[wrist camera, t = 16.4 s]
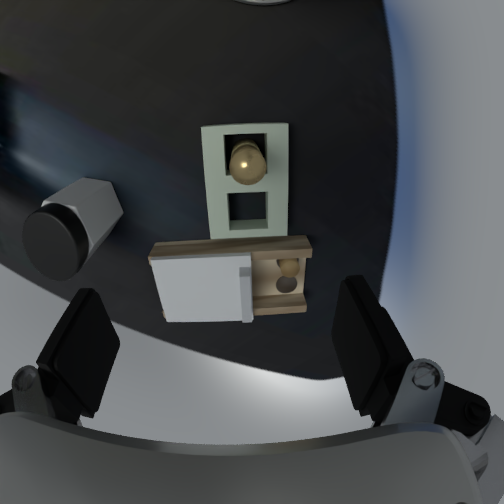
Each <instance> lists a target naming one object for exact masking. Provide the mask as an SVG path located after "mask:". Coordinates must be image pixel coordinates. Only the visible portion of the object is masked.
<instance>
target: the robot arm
mask: <svg viewBox="0 0 504 504" xmlns="http://www.w3.org/2000/svg"><path fill="white" fill-rule="evenodd" d="M235 1H238V2H242V3H246V4H252V5H276V4H280V3H285V2H288V1H291V0H235ZM331 335H332V341H333V344H334V347H335V350H336V353H337V356H338V359H339V362H340V365H341V368H342V371H343V375H344V378H345V381H346V384H347V387H348V391H349V394H350V397H351V401H352V404H353V407H354V409H355V410H359V412H360V416H361V417H362V416H366V415H370V416H371V419H372V420H373V421H374V422H373V424H372V426H371V428H368V429H363V430H358V431H353V432H348V433H343V434H338V435H333V436H326V437H319V438H312V439H305V440H297V441H289V442H278V443H266V444H245V445H205V444H186V443H172V442H163V441H154V440H147V439H140V438H133V437H127V436H122V435H116V434H111V433H106V432H102V431H97V430H93V429H89V428H85V427H83V426H82V423H81V421H80V419H79V418H80V415H82V416H85V417H89V418H93V417H94V414H95V412H97V411H98V409H99V406H100V403H101V399H102V396H103V393H104V390H105V387H106V384H107V381H108V378H109V375H110V372H111V369H112V366H113V364H114V360H115V358H116V355H117V352H118V350H119V347H120V340H119V337H118V335H117V333H116V331H115V329H114V327H113V325H112V323H111V321H110V318H109V316H108V314H107V312H106V310H105V307H104V305H103V303H102V300H101V298H100V296H99V294H98V293H97V292H96V291H95V290H94V289H92V288H81V289H79V290H78V292H77V293H76V295H75V296H74V298H73V299H72V301H71V303H70V304H69V306H68V307H67V309H66V311H65V312H64V314H63V315H62V317H61V319H60V320H59V322H58V323H57V325H56V327H55V328H54V330H53V332H52V334H51V335H50V337H49V339H48V340H47V342H46V344H45V346H44V348H43V350H42V352H41V353H40V355H39V357H38V359H37V361H36V363H37V365H38V366H39V367H38V369H36V368H35V367H34V366H31V365H27V366H24V367H22V368H20V369H19V370H18V371H17V372H16V373H15V375H14V377H13V379H12V389H11V390H9V391H8V392H6V393H4V394H2V395H1V396H0V504H498V502H499V501H500V499H501V498H502V496H503V494H504V421H503V420H501V419H500V418H499V417H498V416H497V415H494V416H493V417H492V416H491V414H490V413H491V411H490V406H489V405H488V403H487V401H486V400H485V399H484V398H483V397H481V396H479V395H477V394H474V393H472V392H469V391H467V390H464V389H462V388H459V387H457V386H455V385H452V384H450V383H448V382H445V381H444V377H445V376H444V373H443V370H442V369H441V367H440V366H439V365H438V364H437V363H436V362H434V361H432V360H429V359H424V358H423V359H417V360H414V359H413V357H412V355H411V353H410V352H409V350H408V348H407V346H406V344H405V342H404V340H403V339H402V337H401V335H400V333H399V331H398V330H397V328H396V326H395V324H394V322H393V321H392V319H391V317H390V315H389V314H388V312H387V311H386V309H385V308H384V307H381V305H380V304H379V302H378V300H377V298H376V297H375V295H374V293H373V292H372V290H371V288H370V287H369V285H368V283H367V282H366V280H365V279H364V277H363V276H362V275H353V276H347V277H346V279H345V280H342V281H341V285H340V291H339V296H338V302H337V307H336V312H335V317H334V322H333V327H332V333H331Z"/></svg>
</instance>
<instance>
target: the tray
mask: <svg viewBox="0 0 504 504" xmlns="http://www.w3.org/2000/svg"><path fill="white" fill-rule="evenodd" d="M244 252H251V274H252V300H253V315H269V314H284V313H297V312H306V307H307V304H306V301H305V298H304V295H303V287H304V276H305V264H306V258H311V257H312V247H311V245H310V243H309V241H308V239H307V237H306V235H295V236H271V237H249V238H229V239H209V240H191V241H173V242H156V243H155V245H154V247H153V248H152V250H151V252H150V254H149V256H148V259H149V263H150V265H151V261H150V260H151V258H152V257H161V256H182V255H203V254H224V253H244ZM163 315H164V318H166V317H165V313H164V310H163Z"/></svg>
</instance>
